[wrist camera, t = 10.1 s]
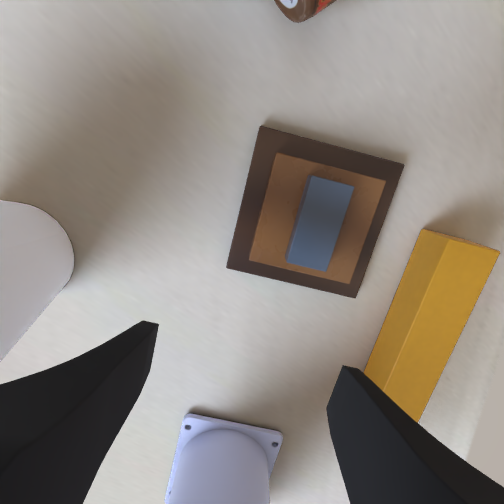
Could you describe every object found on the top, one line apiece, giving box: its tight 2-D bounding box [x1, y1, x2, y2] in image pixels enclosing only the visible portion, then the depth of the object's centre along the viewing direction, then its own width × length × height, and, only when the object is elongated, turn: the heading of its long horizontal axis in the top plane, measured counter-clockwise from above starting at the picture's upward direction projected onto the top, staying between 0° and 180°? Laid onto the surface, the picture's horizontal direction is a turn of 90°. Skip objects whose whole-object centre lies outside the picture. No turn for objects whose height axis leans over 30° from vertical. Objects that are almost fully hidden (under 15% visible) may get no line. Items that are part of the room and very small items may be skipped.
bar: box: [364, 229, 500, 423], centre depth 21 cm, size 14×3×3 cm, turn 166°
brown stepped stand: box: [226, 126, 404, 298], centre depth 18 cm, size 9×9×3 cm
